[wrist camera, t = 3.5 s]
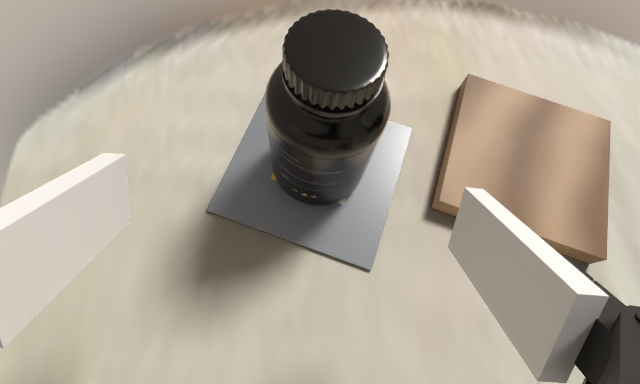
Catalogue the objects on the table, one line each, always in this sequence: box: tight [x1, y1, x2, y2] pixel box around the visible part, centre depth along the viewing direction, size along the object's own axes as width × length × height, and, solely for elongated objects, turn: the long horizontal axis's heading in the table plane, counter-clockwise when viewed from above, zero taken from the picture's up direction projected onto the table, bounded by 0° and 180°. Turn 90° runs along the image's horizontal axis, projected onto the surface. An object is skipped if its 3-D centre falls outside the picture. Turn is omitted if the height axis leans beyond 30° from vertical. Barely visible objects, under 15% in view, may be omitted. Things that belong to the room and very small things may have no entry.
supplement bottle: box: [265, 9, 391, 206], centre depth 22 cm, size 7×7×12 cm
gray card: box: [207, 95, 412, 271], centre depth 27 cm, size 12×12×1 cm
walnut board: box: [431, 74, 611, 264], centre depth 28 cm, size 12×12×2 cm
